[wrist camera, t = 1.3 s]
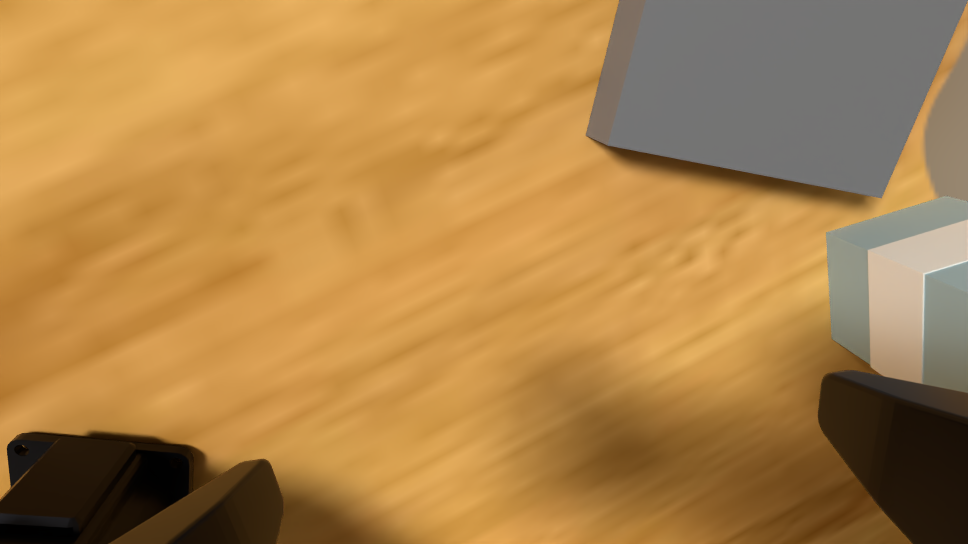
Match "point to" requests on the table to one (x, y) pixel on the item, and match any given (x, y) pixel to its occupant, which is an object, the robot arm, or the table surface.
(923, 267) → the carton
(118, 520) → the robot arm
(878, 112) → the podium
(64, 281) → the table surface
